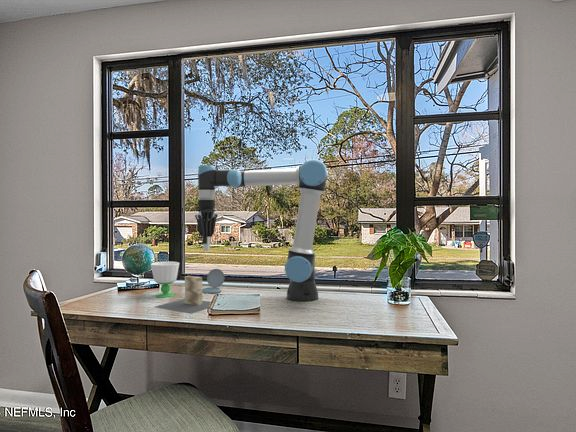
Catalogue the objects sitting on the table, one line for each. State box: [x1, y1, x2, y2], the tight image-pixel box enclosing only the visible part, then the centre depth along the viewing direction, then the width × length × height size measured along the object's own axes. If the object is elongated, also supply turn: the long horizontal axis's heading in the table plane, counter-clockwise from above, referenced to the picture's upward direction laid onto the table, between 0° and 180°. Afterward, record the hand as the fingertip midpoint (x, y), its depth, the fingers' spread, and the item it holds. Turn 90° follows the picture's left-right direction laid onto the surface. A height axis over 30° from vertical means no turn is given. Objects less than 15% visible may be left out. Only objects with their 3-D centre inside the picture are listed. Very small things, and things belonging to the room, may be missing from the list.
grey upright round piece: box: [202, 268, 226, 295], centre depth 220 cm, size 10×11×15 cm
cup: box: [150, 261, 180, 298], centre depth 212 cm, size 14×14×16 cm
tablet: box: [184, 275, 203, 306], centre depth 192 cm, size 8×3×12 cm, turn 59°
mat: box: [154, 298, 212, 315], centre depth 190 cm, size 22×20×1 cm
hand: (206, 250), depth 199 cm, fingers closed
